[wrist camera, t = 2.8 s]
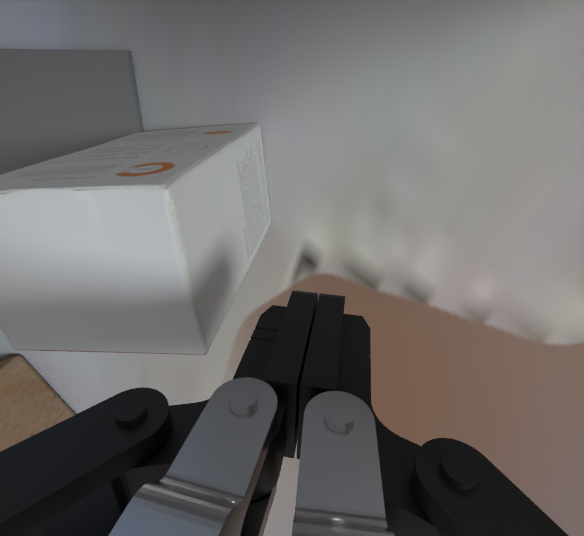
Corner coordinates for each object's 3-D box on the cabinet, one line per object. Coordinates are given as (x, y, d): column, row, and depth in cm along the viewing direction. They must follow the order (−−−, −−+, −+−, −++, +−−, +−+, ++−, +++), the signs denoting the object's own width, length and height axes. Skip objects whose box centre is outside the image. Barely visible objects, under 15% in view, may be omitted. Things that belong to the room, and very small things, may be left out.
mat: (130, 51, 21) (126, 51, 21) (166, 268, 28) (163, 270, 27) (-125, 47, 24) (-133, 46, 24) (-37, 244, 31) (-42, 246, 30)
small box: (160, 227, 26) (8, 353, 14) (134, 131, 23) (-82, 192, 11) (274, 224, 24) (208, 360, 13) (263, 121, 21) (164, 180, 10)
